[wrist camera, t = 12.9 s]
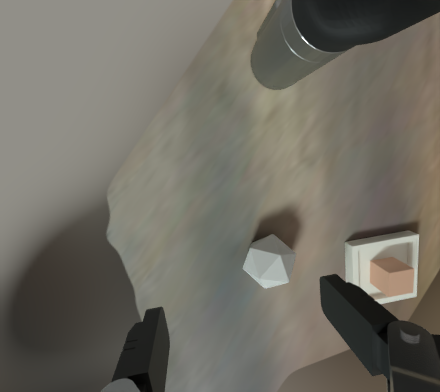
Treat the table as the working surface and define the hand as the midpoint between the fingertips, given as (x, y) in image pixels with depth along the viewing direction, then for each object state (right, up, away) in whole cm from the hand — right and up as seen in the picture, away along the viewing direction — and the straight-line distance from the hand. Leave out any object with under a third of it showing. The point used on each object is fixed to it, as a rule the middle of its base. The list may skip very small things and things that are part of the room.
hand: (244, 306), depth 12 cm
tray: (+32, -9, +39) cm, 52 cm away
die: (+7, -5, +36) cm, 37 cm away
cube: (+32, -10, +38) cm, 51 cm away
